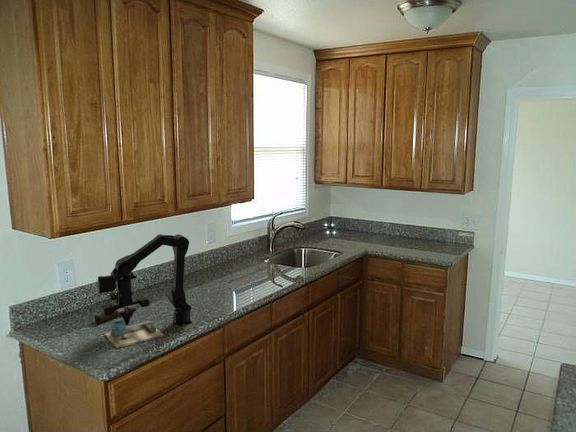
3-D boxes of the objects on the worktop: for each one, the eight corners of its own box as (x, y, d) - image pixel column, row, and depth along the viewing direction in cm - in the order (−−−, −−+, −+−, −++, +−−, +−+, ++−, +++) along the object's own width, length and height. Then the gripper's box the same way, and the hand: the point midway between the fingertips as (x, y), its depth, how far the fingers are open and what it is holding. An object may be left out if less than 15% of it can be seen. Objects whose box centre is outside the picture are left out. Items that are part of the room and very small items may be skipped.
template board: (149, 324, 199) (149, 322, 199) (163, 336, 187) (163, 334, 187) (105, 335, 187) (105, 333, 187) (117, 348, 176) (117, 346, 176)
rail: (149, 325, 196) (149, 320, 196) (151, 326, 195) (151, 322, 195) (109, 335, 186) (109, 330, 186) (111, 336, 184) (110, 332, 184)
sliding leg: (121, 330, 190) (120, 318, 189) (128, 337, 183) (127, 325, 182) (111, 332, 188) (110, 321, 187) (118, 339, 181) (117, 328, 180)
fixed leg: (150, 326, 195) (150, 318, 194) (156, 331, 190) (155, 323, 189) (145, 328, 193) (144, 319, 193) (150, 332, 189) (150, 324, 188)
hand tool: (99, 325, 198) (99, 315, 197) (94, 323, 200) (93, 313, 199) (136, 312, 213) (135, 303, 212) (130, 310, 215) (130, 301, 215)
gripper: (139, 280, 198) (141, 314, 201) (95, 288, 187) (97, 324, 189) (149, 287, 190) (151, 322, 192) (103, 296, 178) (105, 333, 181)
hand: (126, 325), depth 189 cm, fingers closed
